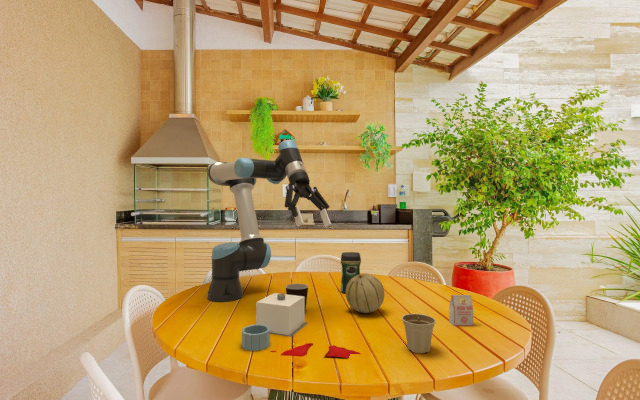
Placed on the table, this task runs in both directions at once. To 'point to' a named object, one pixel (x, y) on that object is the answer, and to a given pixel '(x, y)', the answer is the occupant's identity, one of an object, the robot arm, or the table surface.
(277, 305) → the cover
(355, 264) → the coffee jar
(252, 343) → the bowl
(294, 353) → the cloth
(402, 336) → the table surface
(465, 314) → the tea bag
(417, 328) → the flower pot
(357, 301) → the cantaloupe
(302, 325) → the mat
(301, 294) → the coffee mug
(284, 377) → the table surface
